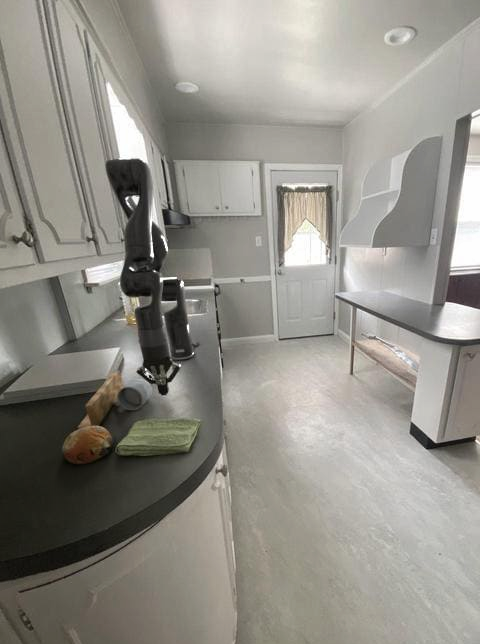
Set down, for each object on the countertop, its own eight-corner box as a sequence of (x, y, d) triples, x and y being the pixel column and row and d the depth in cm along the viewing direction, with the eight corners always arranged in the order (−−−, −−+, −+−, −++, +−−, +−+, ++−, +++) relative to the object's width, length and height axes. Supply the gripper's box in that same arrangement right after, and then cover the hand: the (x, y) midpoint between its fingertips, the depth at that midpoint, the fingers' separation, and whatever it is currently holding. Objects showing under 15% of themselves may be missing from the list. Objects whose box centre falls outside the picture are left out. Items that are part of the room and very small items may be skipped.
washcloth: (191, 455, 71) (189, 444, 70) (114, 459, 70) (110, 447, 69) (202, 424, 83) (201, 414, 82) (137, 427, 82) (134, 416, 81)
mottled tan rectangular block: (108, 390, 103) (102, 371, 100) (123, 388, 104) (119, 370, 101) (77, 429, 81) (70, 407, 79) (98, 427, 82) (91, 405, 80)
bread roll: (110, 448, 80) (98, 420, 79) (122, 448, 72) (109, 417, 72) (67, 468, 73) (53, 438, 72) (76, 471, 65) (60, 437, 65)
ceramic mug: (155, 397, 98) (150, 375, 95) (145, 410, 90) (139, 387, 87) (122, 398, 98) (116, 376, 95) (109, 411, 90) (102, 388, 87)
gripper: (179, 336, 93) (187, 387, 100) (133, 339, 91) (144, 391, 97) (175, 343, 86) (184, 397, 93) (125, 347, 84) (139, 402, 91)
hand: (164, 394), depth 95 cm, fingers closed
